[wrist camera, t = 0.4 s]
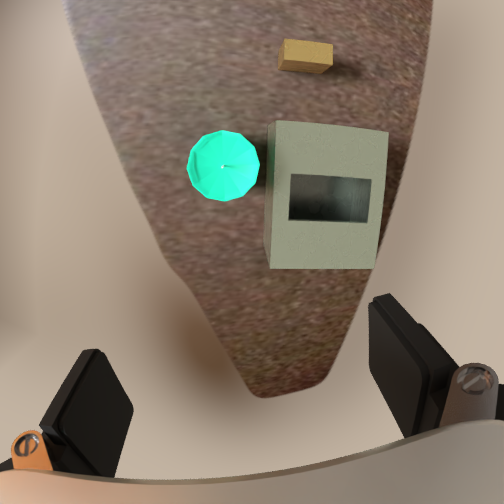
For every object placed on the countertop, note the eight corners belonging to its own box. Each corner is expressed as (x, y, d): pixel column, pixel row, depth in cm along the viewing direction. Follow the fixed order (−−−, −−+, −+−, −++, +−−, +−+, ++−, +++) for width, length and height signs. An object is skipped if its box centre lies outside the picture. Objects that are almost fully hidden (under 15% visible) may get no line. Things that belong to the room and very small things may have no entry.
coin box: (267, 125, 34) (276, 120, 27) (359, 133, 35) (388, 132, 27) (263, 243, 39) (269, 268, 31) (349, 245, 39) (373, 268, 32)
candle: (262, 149, 35) (275, 151, 24) (238, 194, 37) (238, 218, 26) (215, 125, 34) (205, 116, 23) (191, 171, 36) (170, 184, 24)
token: (278, 51, 31) (284, 38, 27) (320, 55, 32) (332, 44, 27) (278, 70, 32) (284, 59, 28) (320, 74, 33) (332, 64, 28)
